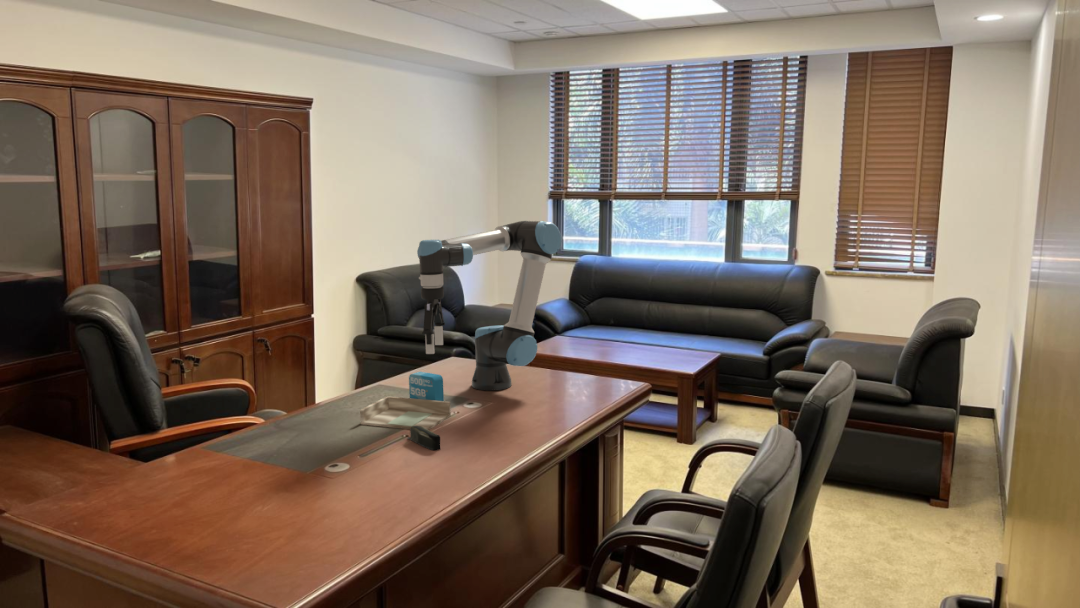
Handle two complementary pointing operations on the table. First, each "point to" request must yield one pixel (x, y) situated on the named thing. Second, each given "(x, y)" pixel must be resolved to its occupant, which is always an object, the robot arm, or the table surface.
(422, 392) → the data package
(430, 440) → the mobile phone
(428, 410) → the tray
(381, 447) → the table surface
